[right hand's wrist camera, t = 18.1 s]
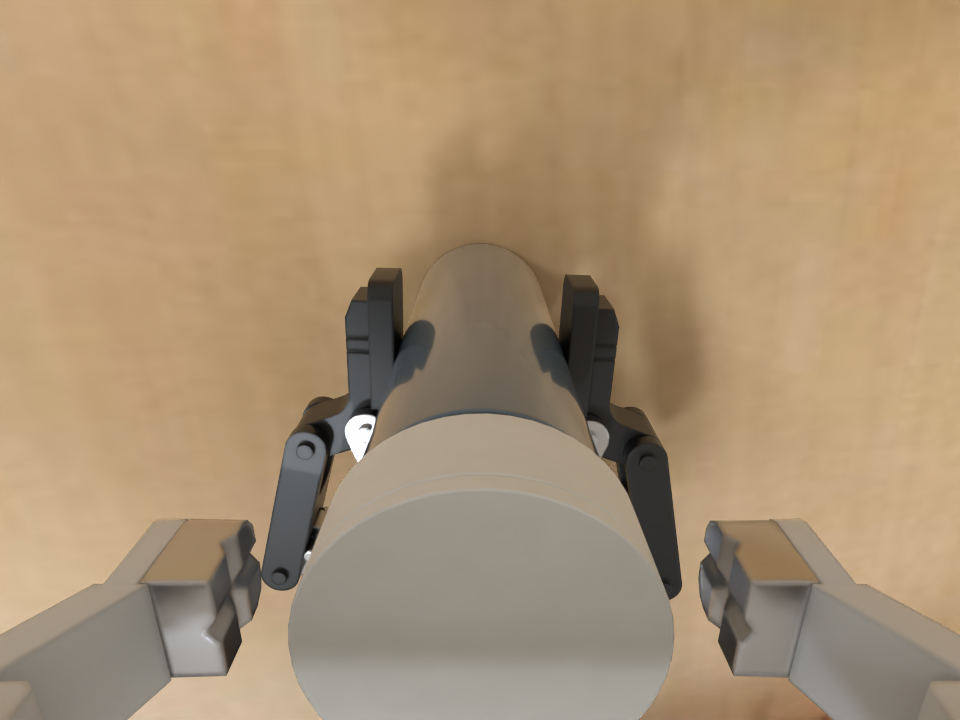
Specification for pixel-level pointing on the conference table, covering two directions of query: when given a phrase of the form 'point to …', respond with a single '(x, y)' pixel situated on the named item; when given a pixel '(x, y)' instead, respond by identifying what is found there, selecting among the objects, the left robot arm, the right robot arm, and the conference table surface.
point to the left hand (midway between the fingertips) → (482, 280)
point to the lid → (481, 583)
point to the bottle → (480, 350)
